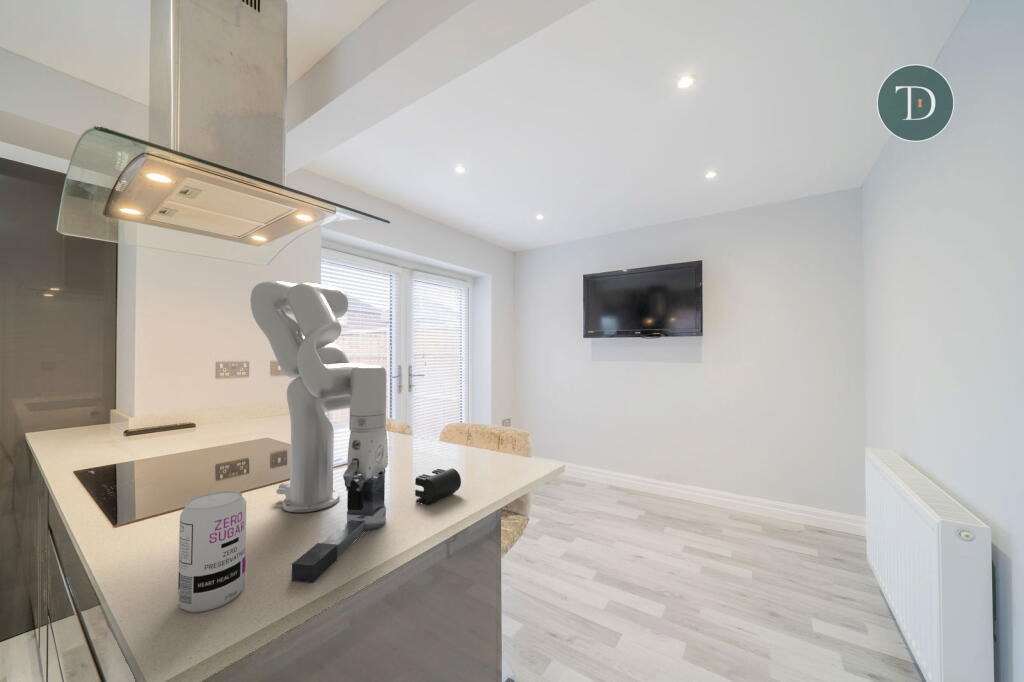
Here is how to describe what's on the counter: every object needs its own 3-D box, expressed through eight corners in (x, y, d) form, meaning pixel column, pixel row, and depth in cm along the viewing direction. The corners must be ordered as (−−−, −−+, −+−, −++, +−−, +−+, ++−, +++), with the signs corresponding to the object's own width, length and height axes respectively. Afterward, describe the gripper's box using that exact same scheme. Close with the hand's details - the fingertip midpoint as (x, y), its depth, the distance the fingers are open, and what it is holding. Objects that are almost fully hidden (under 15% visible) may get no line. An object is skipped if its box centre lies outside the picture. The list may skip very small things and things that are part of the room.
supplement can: (202, 582, 64) (204, 490, 65) (255, 580, 65) (257, 489, 65) (163, 616, 56) (165, 510, 56) (224, 613, 57) (226, 509, 57)
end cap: (434, 509, 94) (435, 480, 95) (413, 502, 98) (413, 475, 98) (461, 495, 103) (461, 469, 103) (440, 490, 107) (441, 465, 107)
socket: (347, 514, 84) (348, 481, 84) (360, 504, 89) (361, 473, 89) (372, 516, 83) (372, 482, 83) (384, 505, 89) (384, 474, 89)
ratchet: (279, 579, 65) (280, 534, 65) (358, 515, 91) (359, 482, 91) (324, 583, 64) (325, 537, 64) (391, 517, 90) (392, 483, 90)
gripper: (364, 430, 77) (363, 518, 77) (400, 415, 95) (399, 487, 94) (328, 429, 78) (327, 516, 78) (370, 414, 95) (369, 485, 95)
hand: (366, 500), depth 86 cm, fingers open, 9 cm apart
